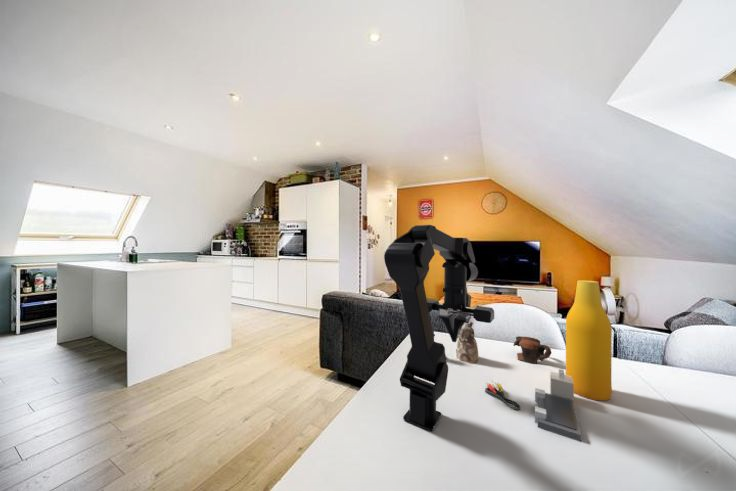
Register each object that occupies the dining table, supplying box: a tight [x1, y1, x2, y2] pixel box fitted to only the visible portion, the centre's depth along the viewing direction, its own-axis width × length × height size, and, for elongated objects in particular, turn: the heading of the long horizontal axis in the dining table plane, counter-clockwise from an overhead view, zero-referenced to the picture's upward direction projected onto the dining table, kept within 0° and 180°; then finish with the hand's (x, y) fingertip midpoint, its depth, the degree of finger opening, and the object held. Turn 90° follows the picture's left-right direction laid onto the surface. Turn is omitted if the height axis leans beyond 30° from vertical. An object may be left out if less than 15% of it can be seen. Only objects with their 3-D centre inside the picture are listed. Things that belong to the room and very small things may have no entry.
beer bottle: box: [565, 279, 613, 402], centre depth 67 cm, size 9×9×29 cm
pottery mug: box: [513, 336, 552, 365], centre depth 87 cm, size 12×10×8 cm
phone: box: [534, 387, 582, 442], centre depth 57 cm, size 14×8×2 cm, turn 147°
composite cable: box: [484, 380, 521, 412], centre depth 63 cm, size 10×5×2 cm, turn 6°
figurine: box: [455, 321, 479, 364], centre depth 87 cm, size 7×7×12 cm
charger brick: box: [549, 368, 575, 405], centre depth 64 cm, size 4×4×7 cm
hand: (454, 341), depth 69 cm, fingers closed
